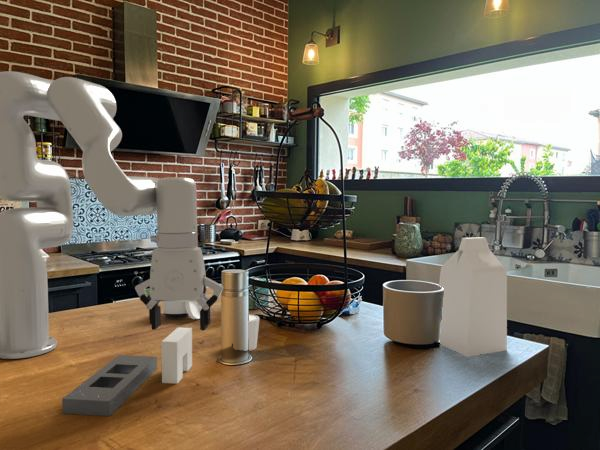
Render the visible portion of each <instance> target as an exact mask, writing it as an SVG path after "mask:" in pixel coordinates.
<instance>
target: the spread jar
mask: <svg viewBox="0 0 600 450" xmlns="http://www.w3.org/2000/svg"><path fill="white" fill-rule="evenodd" d="M162 302H163V304H162V305H163V315H164V317H165V318H167V319H170V318H173V319H172V320H179V319H178V318H182V319H186V317H187V318H191V320H195V319H196V320H200V310H202V307H201V306H200V305H199V304H198V302H197V301H191V302H176V301H162ZM196 320H195V321H196Z"/></svg>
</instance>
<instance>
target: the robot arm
mask: <svg viewBox="0 0 600 450" xmlns="http://www.w3.org/2000/svg"><path fill="white" fill-rule="evenodd" d="M116 113H117V101H116V98H115V96H114V94H113V93H112V92H111V91H110V90H109V88H106V87H105V86H103V85H101V84H99V83H98V84H97V83H94V82H91V81H88V80H85V79H82V78H77V77H72V76H64V77H59V78H57V79H54V80H52V79H48V78H43V77H40V76H37V75H34V74H30V73H27V72H26V73H25V72H20V71H12V70H11V71H10V70H9V71H7V70H6V71H0V199H2V200H3V201H4V200H5V201H7V202H19V203H22V202H26V203H27V202H36V206H34V207H15V208H14V207H13V208H9V209H5V210H2V211H0V359H4V360H5V359H6V360H17V359H26V358H32V357H36V356H40V355H41V356H42V355H43V354H46V353H49V352H51V351H53V350H54V349H55V348H56V347H58V346H57V345H58V340H57V339H56V338H55V337H54V336H53V337H52V336H50V328H49V327H50V324H49V321H50V320H49V318H50V317H49V286H48V285H49V284H48V269H47V265H46V263H45V261H44V259H43V258H42V256H41V254H40V252H39V250H43V249H49V248H55V247H60V246H63V245H65V244H66V243H68V242H69V241H70V239H71V238H72V236H73V232H74V211H73V210H74V209H73V200H72V199H73V198H72V188H71V181H70V178H69V175H68V172H67V171H66V169H65V168H64V167H63V166H62V165H61V164H60V163H59V162H56V161H54V160H48V159H39V158H38V154H37V146H36V145H37V143H36V138H35V135H34V133H33V131H32V129H31V127H30V125H29V124H28V122H27V121H26V120H25V119H24V117H25V116H29V117H35V118H41V119H48V120H53V121H59V122H61V123H62V124H63V126H64V128H66V130H67V131H68V133H69V134H70V135H71V137H72V138H73V139H74V141H75V142H76V144H77V145H78V146H79V148H80V150H81V151H82V157H81V165H82V166H81V167H82V172H83V173H82V174H83V177H84V180H85V182H86V185H88V187H89V190H91V192H93V195H95V197H96V198H97V200H98V201H99V202H100V203H101V205H102V206H103V207H104V208H105V209H106V210H107V211H109V213H111V214H113V215H116V216H118V217H133V216H149V215H150V216H151V215H156V226H157V229H156V231H157V232H156V233H155V234H154V235H150V242H151V243H155V244H156V247H157V248H153V251H152V255H151V262H150V272H149V279H147V280H146V279H145V280H144V281H142V282H140V283H139V284H137V285H135V287H134V289H135V291H136V294H137V296H139V300H140V301H141V302H142V303H143V304H144V305H145V306H146V309H147V310H148V314H149V316H148V317H149V324H150V325H151V330H154V331H155V330H157V329H158V328H159V327H160V326H161V325H162V314H161V313H162V310H161V306H160V305H159V303H160V302H163V301H176V302H191V301H197V302H198V304H199V305H200V306H201V307H202V310H200V319H199V330H201V331H205V330H206V329H207V328H208V327H209V326H210V325H211V307H212V306H213V305H214V304H215V303H216V302H217V301H218V300H219V298H220V296H221V294H222V292H223V290H224V285H222V284H220V283H218V282H216V280H213V279H211V278H209V277H207V274H206V266H205V260H204V256H203V251H202V248H201V247H200V246H199V240H198V203H197V202H198V200H197V199H198V198H197V197H198V196H197V183H196V181H195V180H194V179H193V178H190V177H186V176H185V177H180V176H179V177H175V176H174V177H172V176H171V177H153V176H152V177H150V176H137V175H136V176H135V175H133V176H132V175H128V176H127V174H125V172H124V171H123V169H122V168H121V167H120V165H119V164H118V163H117V162H116V160H115V159H114V157H113V155H112V153H111V152H112V151H114V149H116V148H117V147H118V146H119V144H120V143H121V141H122V138H123V132H122V130H121V128H120V126H119V125H118V124H117V123H116V121H115V120H114V117H115V116H116ZM148 287H149V294H148V293H147V288H148ZM207 287H208V288H209V289H211V290H213V293H212V295H211V296H210V298H209V297H208V296H207V295H206V294H207Z"/></svg>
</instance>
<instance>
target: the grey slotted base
mask: <svg viewBox="0 0 600 450" xmlns="http://www.w3.org/2000/svg"><path fill="white" fill-rule="evenodd" d="M157 370H158V357H157V356H153V355H152V356H149V355H128V354H127V355H125V354H118V355H117V356H115V358H113V359H112V360H110V361H109V362H108V363H106V364H105V365H104V366H103V367H101V368H100V369H99V370H98V371H97V370H96V372H95V373H94V374H92V375H91V376H89V377H88V378H87V379H86V380H85V381H83V382H81V383H80V384H79V385H78V386H76V387H75V388H74V389H73V390H72V391H69V392H68V393H67V394H66V395H65V396H63V398H62V399H61V400H62V401H61V403H62V405H61V406H62V409H61V410H62V414H63V415H64V414H65V415H66V414H68V415H84V416H85V415H86V416H100V417H111V415H113V414H114V413H115V411H117V410H118V408H120V407H121V406H122V404H124V403H125V402H126V400H128V399H129V398H130V397H131V395H133V394H134V393H135V392H136V390H138V388H139V387H140V386H141V385H142V384H144V382H146V381H147V379H149V377H151V376H152V375H153V374H154V372H156V371H157Z"/></svg>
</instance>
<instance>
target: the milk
mask: <svg viewBox="0 0 600 450" xmlns="http://www.w3.org/2000/svg"><path fill="white" fill-rule="evenodd" d="M439 273H440V274H439V281H438V282H439V284H438V288H439V287H440V286H441V288H442V287H443V288H444V297H443V307H442V320H441V333H440V344H441V346H443V347H445V348H447V349H449V350H451V351H453V352H455V351H456V352H455V353H457V352H458V354H459V355H461V356H464V357H467V358H469V357H474V355H475V356H481V355H480V354H482V355H486V354H487V353H488V354H494V353H499V352H505V351H507V349H508V347H507V345H508V341H507V340H508V339H507V338H508V336H507V335H508V328H507V327H508V274H507V273H508V272H507V271H506V268H505V266H504V265H503V264H502V263H501V262H500V260H499V259H498V258H497V257H496V256H495V254H494V252H492V250H491V249H490V247H489V244H488V240H487V238H486V237H482V236H481V237H479V236H478V237H462V238H461V241H460V244H459V248H458V250H456V252H454V253H453V254H452V255H451V256H450V257H449V258H448V259H447V260H446V261H444V263H443V264H442V266H441V268H440V272H439ZM440 344H439V345H440Z"/></svg>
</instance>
